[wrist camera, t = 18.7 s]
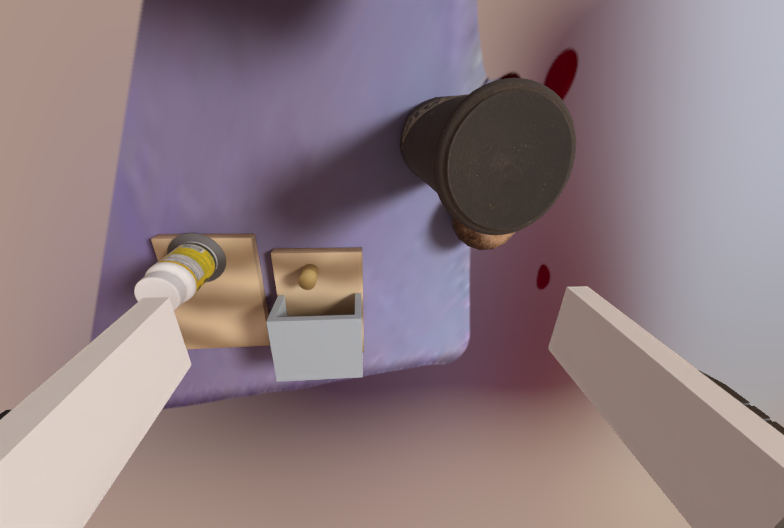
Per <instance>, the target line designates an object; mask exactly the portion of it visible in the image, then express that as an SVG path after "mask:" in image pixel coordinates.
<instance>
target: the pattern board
mask: <svg viewBox="0 0 784 528" xmlns="http://www.w3.org/2000/svg"><path fill="white" fill-rule="evenodd" d="M271 258H272V264H273V271H274V278H275V284H276V291H277V297H278V295H285V302H286V309H287V316H288V317H302V316H332V315H355V293H361V302H362V353H364V332H363V271H362V247H358V248H278V249H273V251H272V252H271Z"/></svg>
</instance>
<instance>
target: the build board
mask: <svg viewBox="0 0 784 528" xmlns="http://www.w3.org/2000/svg"><path fill="white" fill-rule="evenodd" d="M151 241H152V244H153V247H154V250H155V253H156V256H157V259H158V261H160V260H161V259H162V258H164V257H165V256H166V255H168V254H169V253H170V252H172V251H173V250H174V249H175V248H177V247H178V246H179V245H181V244H183V243H186V242H199V243H202V244H204V245H206V246H207V247H209V248H210V249H211V250H212V251H213V252H214V253H215V255H216V257H217V262H218V265H217V269H216V270H215V272H214V273H213V274H212V275H211V277H210V278H209V279H208V280H207V281H206V282H205V283H204V284H203V286H202V287H201V288H200V289H199V290H198V291H197V292H196V293H195V295H194V296H193V297H192V298H190V299H189V300H188V301H186V302H184V303H182V304H181V305H180V306H179V307H178V308H176V309H175V310H174V312H175V315H176V318H177V321H178V324H179V327H180V330H181V333H182V336H183V340H184V343H185V346H186V349H201V348H225V347H249V346H270V340H269V334H268V328H267V323H266V321H267V319H268V317H269V314H268V308H267V303H266V297H265V291H264V285H263V279H262V273H261V268H260V262H259V256H258V250H257V244H256V239H255V234H198V233H185V234H158V235H156V236H155V237H153V238H152V239H151Z"/></svg>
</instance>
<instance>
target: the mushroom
mask: <svg viewBox="0 0 784 528" xmlns="http://www.w3.org/2000/svg"><path fill="white" fill-rule="evenodd" d="M452 227H453V229H454V231H455V233H456V235H457V237H458V239H460V240H461V241H462V242H464V243H465V244H466V245H467V246H469V247H473V248H476V249H479V250H486V249H494V248H496V247H498V246H500V245H502V244H504V243H506V242H507V241H508V240H509V238H510V237H511V236H512V235H513V234H514V233H515V232H514V233H510V234H505V235H487V234H482V233H478V232H475V231H473V230H470V229H468V228H467V227H465V226H463V225H462V224H460V223H459V222H458V221H457V220H456V219H454V218H453V217H452Z"/></svg>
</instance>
